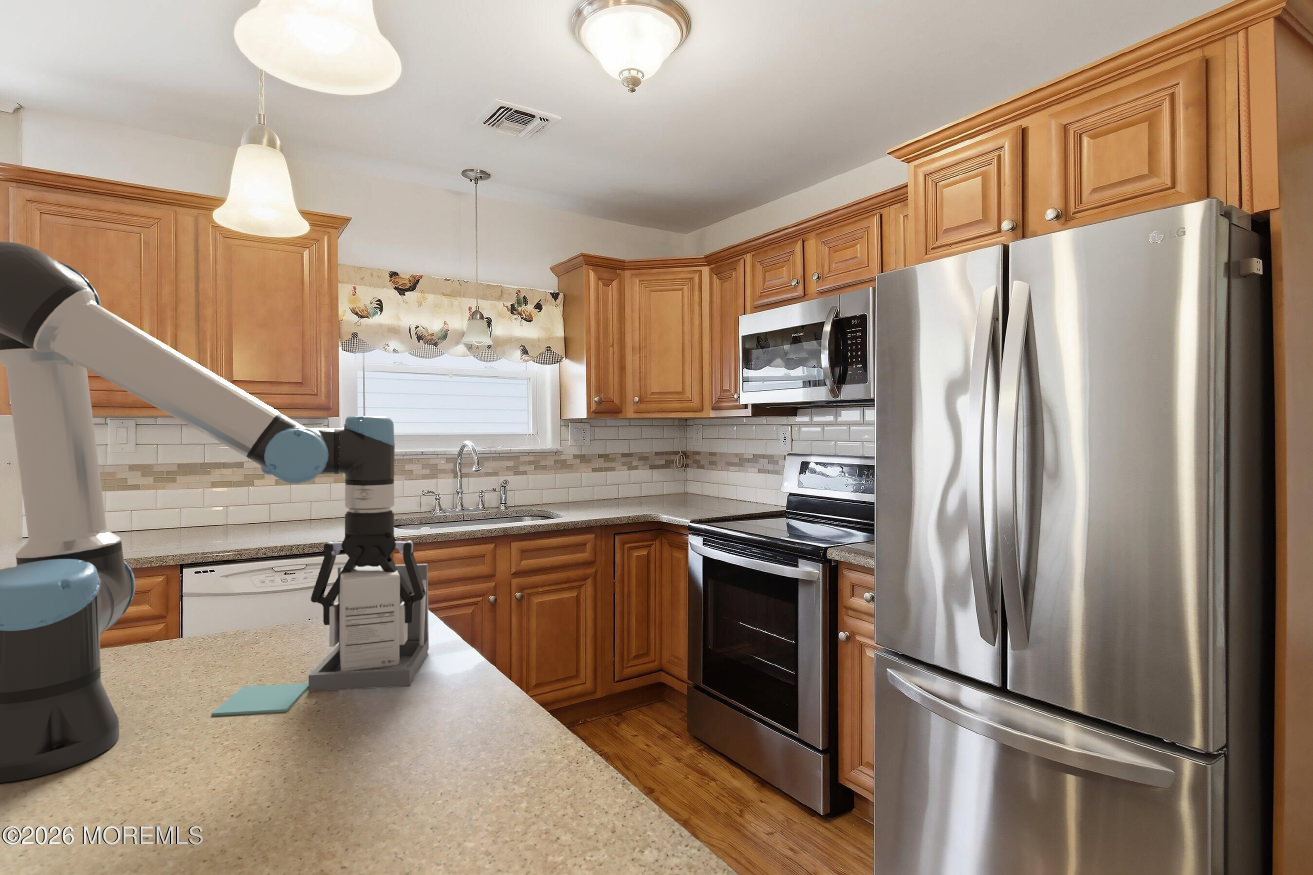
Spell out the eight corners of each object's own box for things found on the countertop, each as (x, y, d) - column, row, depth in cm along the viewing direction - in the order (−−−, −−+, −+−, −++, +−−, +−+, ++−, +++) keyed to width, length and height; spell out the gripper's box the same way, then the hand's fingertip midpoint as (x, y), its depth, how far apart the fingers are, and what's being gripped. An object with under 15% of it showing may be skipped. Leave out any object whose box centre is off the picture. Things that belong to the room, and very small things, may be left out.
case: (308, 691, 108) (306, 588, 108) (340, 656, 124) (339, 566, 124) (409, 685, 110) (408, 584, 110) (428, 652, 126) (427, 563, 126)
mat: (211, 715, 100) (211, 713, 100) (243, 688, 109) (243, 686, 109) (286, 711, 101) (286, 708, 101) (311, 685, 111) (311, 682, 111)
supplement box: (338, 655, 119) (339, 567, 118) (395, 648, 123) (396, 563, 122) (339, 673, 111) (340, 578, 110) (400, 665, 114) (400, 573, 114)
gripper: (287, 512, 111) (287, 652, 111) (437, 512, 114) (436, 648, 114) (304, 506, 118) (304, 638, 119) (444, 506, 121) (443, 634, 122)
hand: (369, 643), depth 116 cm, fingers closed on supplement box, 10 cm apart
